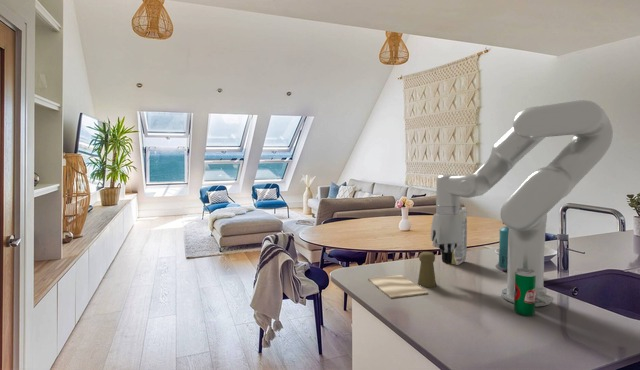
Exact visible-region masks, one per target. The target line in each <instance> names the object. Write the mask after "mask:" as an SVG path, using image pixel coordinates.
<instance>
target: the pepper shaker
mask: <svg viewBox="0 0 640 370" xmlns="http://www.w3.org/2000/svg"><path fill="white" fill-rule="evenodd" d="M418 259H419V262H420V265H419V272H418V279H417V285H418V284H419V285H418V286H420V285H421V286H420V287H423V286H424V287H423V288H434V287H436V286H437V282H436V281H437V280H436V274H435V266H434V262H435V261H436V256H435V254H434V253H433V252H430V251H422V252H420V253H419V255H418Z"/></svg>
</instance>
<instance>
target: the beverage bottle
mask: <svg viewBox="0 0 640 370" xmlns="http://www.w3.org/2000/svg"><path fill="white" fill-rule="evenodd" d="M502 225H505V224H504V223H503V222H502ZM508 233H509V228H508V227H507V226H502V227H501V228H500V229H499V246H498V248H499V249H498V267H499V268H502V269H505V270H507V264H508Z"/></svg>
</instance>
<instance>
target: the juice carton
mask: <svg viewBox="0 0 640 370" xmlns="http://www.w3.org/2000/svg"><path fill="white" fill-rule="evenodd" d="M461 207H462V210H460V212H459V214H460V215H461V218H462V226H463V239H462V241H461V242H462V244H461V245H460V246H457V247H456V248H455V249H454V252H452V263H451V265H456V266H458V265H461V264H462V263H464V262H466V259H467V250H468V249H467V242H468V240H467V238H468V237H467V236H468V235H467V233H468V227H467V226H468V212H467V207H466V206H461Z"/></svg>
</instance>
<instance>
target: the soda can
mask: <svg viewBox="0 0 640 370" xmlns="http://www.w3.org/2000/svg"><path fill="white" fill-rule="evenodd" d="M535 294H536V275H535V273H534V270H531V269H527V268H517V269H516V272H515V279H514V303H513V310H514V311H515V313H516V314H518V315H521V316H525V317H531V316H533V315H535V314H536V306H535Z"/></svg>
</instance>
